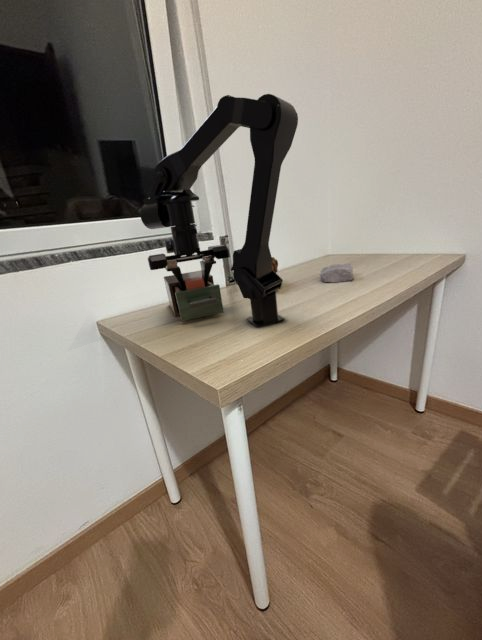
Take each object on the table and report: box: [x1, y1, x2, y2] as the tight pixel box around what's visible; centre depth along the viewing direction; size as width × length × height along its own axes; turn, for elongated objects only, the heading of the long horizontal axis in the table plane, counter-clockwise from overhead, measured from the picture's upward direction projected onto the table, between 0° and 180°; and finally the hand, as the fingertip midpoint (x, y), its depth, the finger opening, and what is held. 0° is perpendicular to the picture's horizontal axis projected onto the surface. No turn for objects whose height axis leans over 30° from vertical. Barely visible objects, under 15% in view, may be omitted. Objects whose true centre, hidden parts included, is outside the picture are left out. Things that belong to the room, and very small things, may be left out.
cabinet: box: [163, 270, 215, 317], centre depth 86 cm, size 14×12×9 cm
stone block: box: [319, 263, 354, 283], centre depth 99 cm, size 12×5×10 cm
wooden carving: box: [271, 256, 279, 274], centre depth 97 cm, size 16×5×10 cm, turn 0°
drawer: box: [173, 281, 224, 322], centre depth 76 cm, size 17×10×7 cm, turn 19°
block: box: [183, 277, 205, 290], centre depth 76 cm, size 4×4×4 cm
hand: (195, 292), depth 76 cm, fingers closed on block, 4 cm apart
